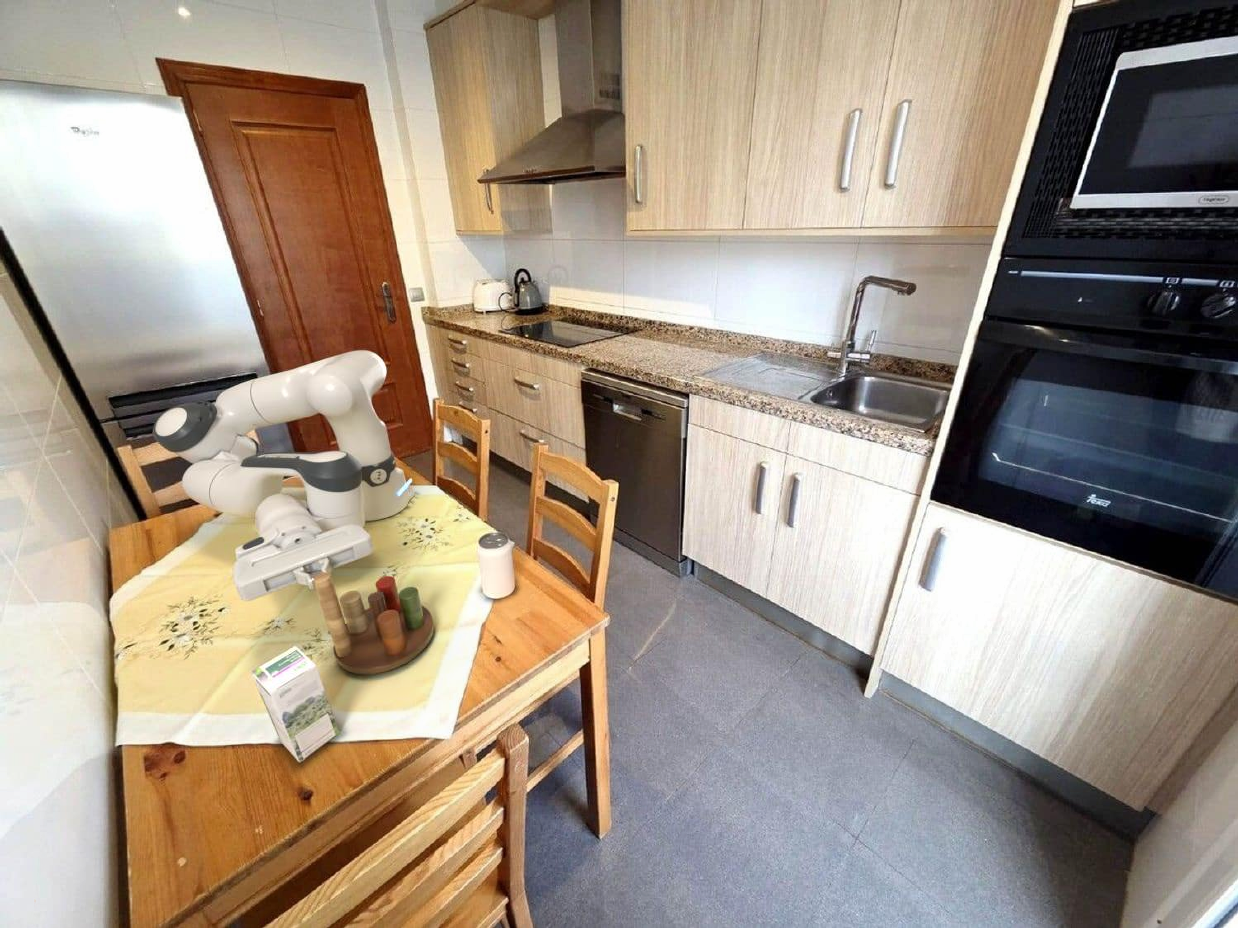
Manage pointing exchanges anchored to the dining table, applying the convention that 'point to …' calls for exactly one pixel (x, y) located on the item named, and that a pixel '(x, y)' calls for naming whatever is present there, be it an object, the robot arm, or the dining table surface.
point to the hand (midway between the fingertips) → (319, 582)
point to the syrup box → (296, 702)
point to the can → (496, 565)
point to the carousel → (375, 625)
